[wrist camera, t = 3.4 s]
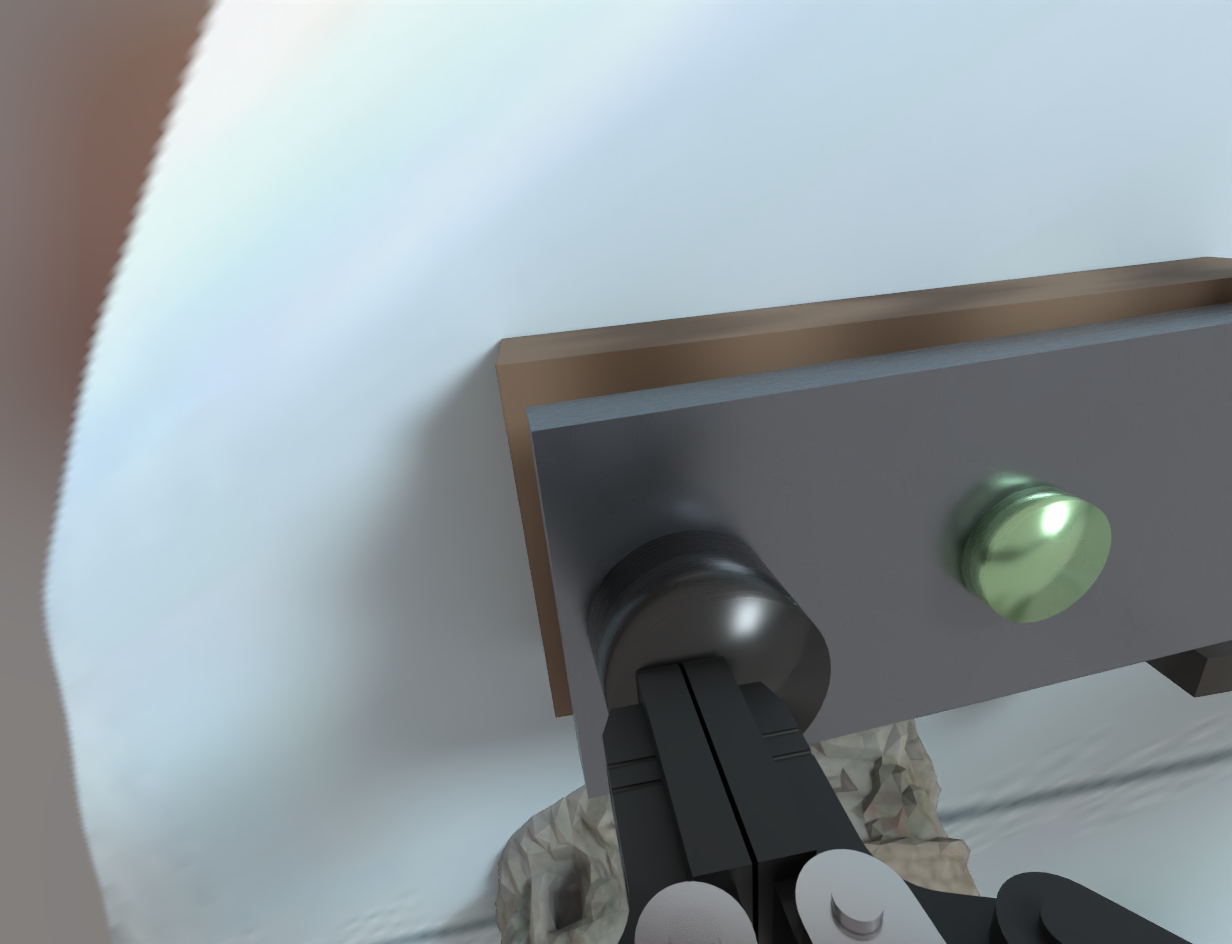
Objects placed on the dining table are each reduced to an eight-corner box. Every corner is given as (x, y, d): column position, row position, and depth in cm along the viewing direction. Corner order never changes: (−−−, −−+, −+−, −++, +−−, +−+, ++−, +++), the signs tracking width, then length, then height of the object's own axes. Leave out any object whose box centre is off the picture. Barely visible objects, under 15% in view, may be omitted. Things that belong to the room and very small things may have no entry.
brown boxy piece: (1223, 195, 17) (1446, 191, 13) (1116, 597, 22) (1251, 687, 18) (490, 275, 16) (476, 299, 12) (558, 687, 21) (565, 807, 17)
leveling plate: (1278, 294, 15) (1525, 320, 11) (1179, 607, 19) (1344, 700, 15) (525, 407, 12) (546, 485, 9) (578, 748, 16) (608, 902, 12)
